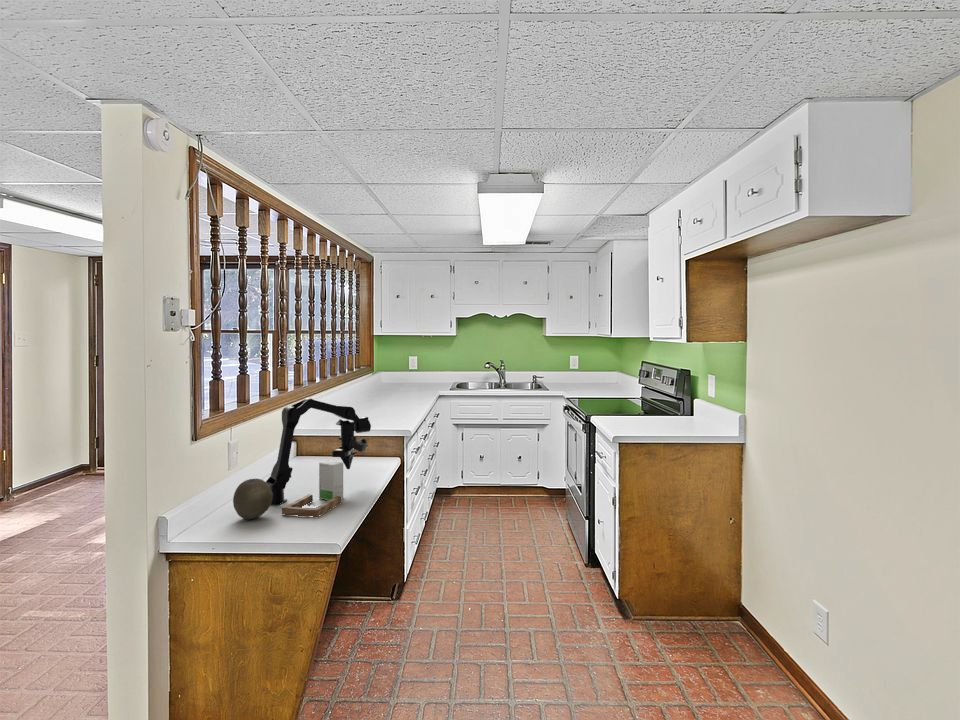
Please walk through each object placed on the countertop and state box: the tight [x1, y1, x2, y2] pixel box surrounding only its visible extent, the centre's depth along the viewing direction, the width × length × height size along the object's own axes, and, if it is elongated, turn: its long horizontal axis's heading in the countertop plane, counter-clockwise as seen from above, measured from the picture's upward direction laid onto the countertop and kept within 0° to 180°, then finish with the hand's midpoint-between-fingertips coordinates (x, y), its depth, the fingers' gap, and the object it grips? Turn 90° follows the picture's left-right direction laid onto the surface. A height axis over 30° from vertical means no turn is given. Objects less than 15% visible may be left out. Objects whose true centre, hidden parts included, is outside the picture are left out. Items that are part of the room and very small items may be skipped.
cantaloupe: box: [232, 478, 273, 520], centre depth 232 cm, size 14×14×15 cm
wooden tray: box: [281, 493, 342, 518], centre depth 243 cm, size 20×15×3 cm
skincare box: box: [318, 459, 344, 501], centre depth 258 cm, size 8×7×16 cm
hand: (348, 469), depth 273 cm, fingers closed
